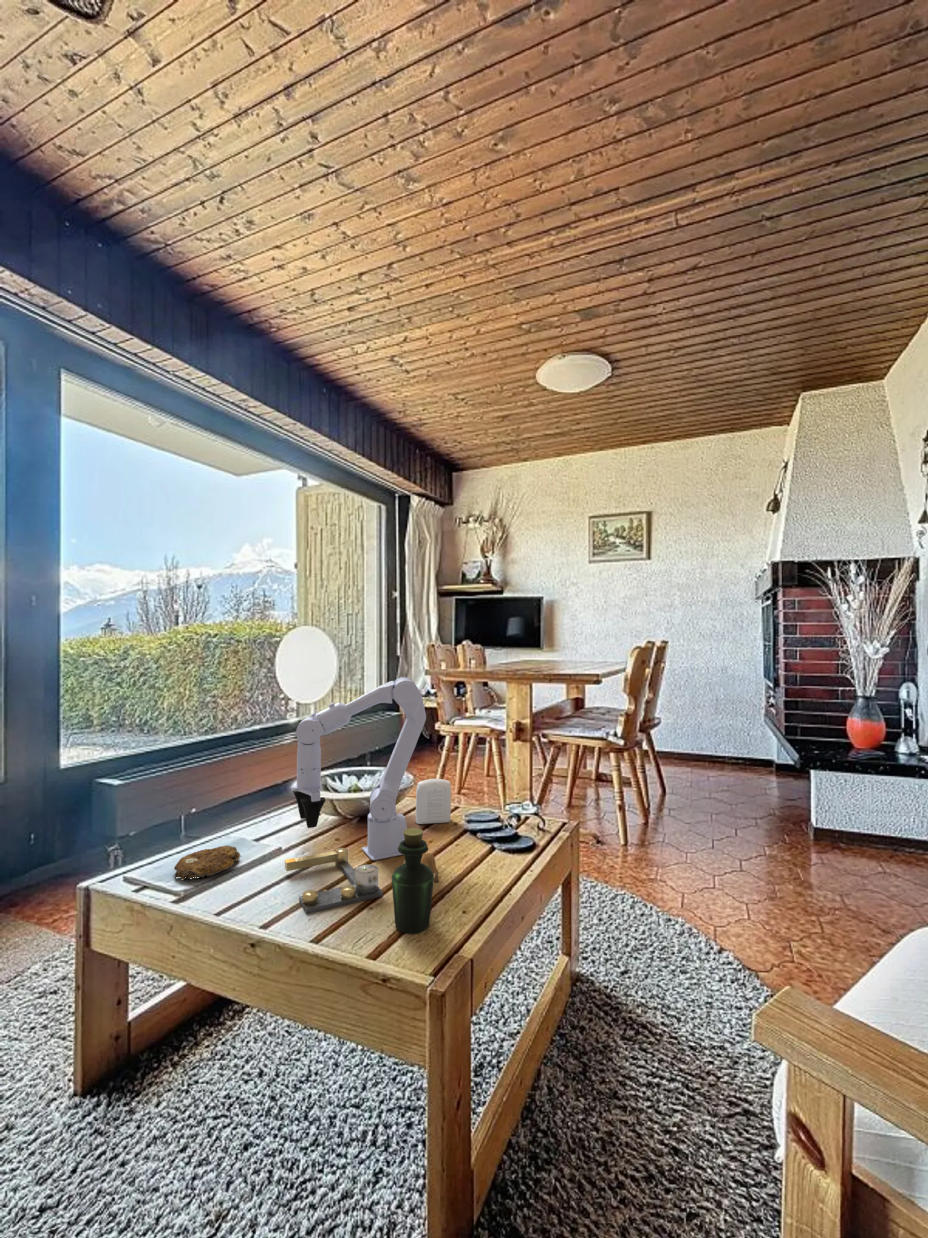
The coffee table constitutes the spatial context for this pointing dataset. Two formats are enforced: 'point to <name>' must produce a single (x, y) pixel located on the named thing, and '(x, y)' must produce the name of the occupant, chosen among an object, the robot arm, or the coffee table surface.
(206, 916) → the coffee table surface
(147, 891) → the coffee table surface
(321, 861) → the lever
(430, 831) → the coffee table surface
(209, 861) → the decorative rock
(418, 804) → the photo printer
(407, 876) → the potion bottle
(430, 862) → the lion figurine
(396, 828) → the robot arm
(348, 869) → the levelling base
